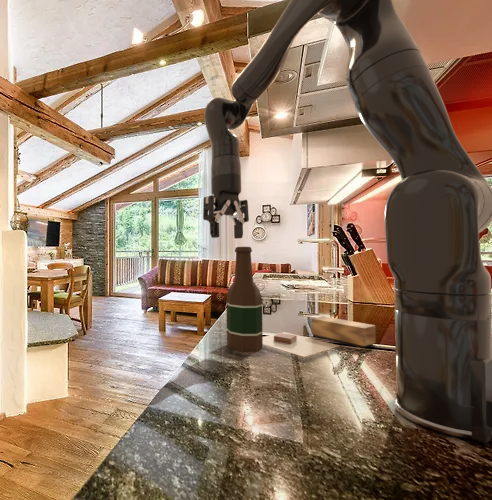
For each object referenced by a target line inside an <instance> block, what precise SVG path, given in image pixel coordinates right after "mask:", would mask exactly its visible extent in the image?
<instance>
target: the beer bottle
mask: <svg viewBox="0 0 492 500" xmlns="http://www.w3.org/2000/svg"><path fill="white" fill-rule="evenodd" d="M234 252H235V268H234V270H235V271H234V278H233V282H232V283H231V285H230V287H229V288H228V291H227V293H226V345H227V346H228V347H229V349H230V350H234V351H237V352H241V353H257V352H260V351H261V350H263V346H264V345H263V337H264V336H263V299H262V293H261V291H260V289H259V287H258V286H257V285H256V283H255V282H254V277H253V267H252V252H253V250H252V247H251V246H236V247H235V249H234Z"/></svg>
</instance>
